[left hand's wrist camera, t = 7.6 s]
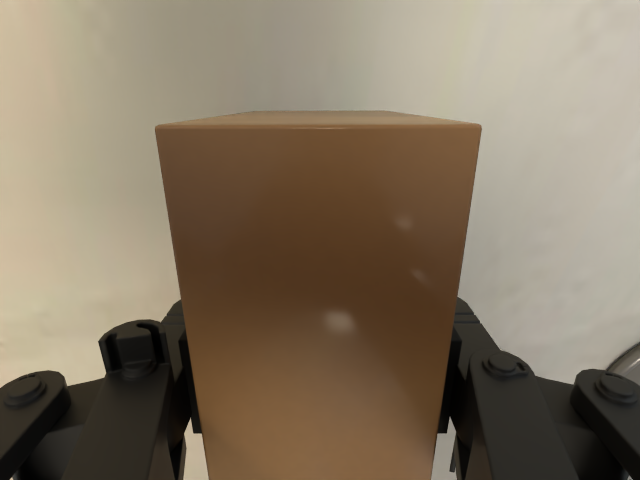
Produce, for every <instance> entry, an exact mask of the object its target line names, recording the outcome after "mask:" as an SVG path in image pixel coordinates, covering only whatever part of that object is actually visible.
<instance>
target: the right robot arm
mask: <svg viewBox="0 0 640 480" xmlns="http://www.w3.org/2000/svg"><path fill="white" fill-rule="evenodd" d="M608 371H609V372H612V373H616V374H619V375H621V376H623V377H625V378H627V379H629V380H631V381H633V382H635V383H637V384H638V385H639V386H640V345H638V346H637V347H635V348H633V349H632V350H631V351H629V352H628V353H627V354H625V355H624V356H623V357H622V358H620V359H619V360H618V361H617V362H616V363H615V364H614V365H613V366H612V367H611V368H610V369H609V370H608ZM629 480H630V479H629Z"/></svg>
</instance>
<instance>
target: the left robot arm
mask: <svg viewBox="0 0 640 480" xmlns="http://www.w3.org/2000/svg"><path fill="white" fill-rule="evenodd" d="M98 343H99V346H100V350H101V354H102V358H103V362H104V365H105V369H106V375H105V378H101V379H98V380H94V381H90V382H85V383H80V384H76V385H71V386H67V384H66V381H65V378H64V376H63V375H62V374H60V373H59V372H55V371H49V370H48V371H40V372H34V373H30V374H28V375H24V376H21V377H19V378H17V379H15V380H13V381H11V382H9V383H7V384H5V385H4V386H3V387H1V388H0V480H10V478H11V477H12V478H13V480H183V476H184V466H185V457H186V442H185V436H184V432H185V430H186V427H187V425H188V422H189V420H190V417H191V421H192V427H193V433H202V431H201V424H200V418H199V411H198V405H197V398H196V392H195V385H194V379H193V372H192V366H191V360H190V353H189V347H188V340H187V334H186V327H185V321H184V314H183V308H182V301H181V300H179V301H178V302H176V303H175V304H174V305H173V306H172V308H171V309H170V310H169V312H168V313H167V316H165V317H164V319H163V320H162V322H161V323H160V322H158V321H154V320H136V321H131V322H126V323H124V324H121V325H119V326H117V327H114V328H113V329H111V330H110V331H108V332H107V333H105V334H104V335H103V336H102V337H101V339H100V340H99V341H98ZM449 417H451V420H452V422H453V425H454V427H455V430H456V436H455V442H454V447H453V453H452V458H451V464H450V472H455V466H456V475H457V480H627V479H628V476H629V475H630V476H631V478H632V479H633V480H640V386H639V385H638V384H637V383H635V382H633V381H631V380H629V379H627V378H625V377H623V376H621V375H619V374H616V373H612V372H609V371H606V370H598V369H588V370H582V371H581V372H580V373H579V374H577V376H576V379H575V382H574V385H572V384H567V383H563V382H558V381H554V380H549V379H545V378H541V377H537V376H535V375H534V372H533V371H532V370H531V368H530V367H529V365H528V364H527V363H525V362H524V361H523V360H521V359H520V358H519V357H517V356H514V355H512V354H510V353H508V352H505V351H501V350H500V349H499V348H498V346H497V345H496V344H495V342H494V341H493V339H492V338H491V336H490V335H489V334H488V332H487V331H486V329H485V328H484V327H483V325H482V324H480V321H479V320H478V318H477V317H476V315H474V313H473V311H472V310H471V308H470V307H469V306H468V304H467V303H466V302H465V301H463V300H462V299H460V298H459V297H457V302H456V309H455V316H454V323H453V330H452V337H451V343H450V350H449V357H448V364H447V371H446V378H445V385H444V392H443V398H442V405H441V412H440V419H439V426H438V433H447V429H448V423H449Z"/></svg>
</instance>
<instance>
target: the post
mask: <svg viewBox="0 0 640 480" xmlns="http://www.w3.org/2000/svg"><path fill="white" fill-rule="evenodd" d="M481 130H482V128H481V125H479V124H475V123H468V122H461V121H454V120H447V119H440V118H433V117H426V116H419V115H412V114H404V113H397V112H390V111H253V112H246V113H239V114H232V115H225V116H218V117H211V118H204V119H196V120H189V121H182V122H175V123H168V124H161V125H157V126H156V127H155V133H156V139H157V146H158V152H159V159H160V165H161V172H162V178H163V185H164V191H165V198H166V204H167V211H168V217H169V223H170V230H171V236H172V243H173V249H174V256H175V262H176V269H177V275H178V282H179V288H180V295H181V301H182V308H183V314H184V321H185V327H186V334H187V340H188V347H189V353H190V360H191V366H192V372H193V379H194V385H195V392H196V398H197V405H198V411H199V418H200V424H201V431H202V437H203V444H204V450H205V457H206V463H207V470H208V476H209V480H431V474H432V467H433V460H434V454H435V447H436V440H437V433H438V426H439V419H440V412H441V405H442V398H443V392H444V385H445V378H446V371H447V364H448V357H449V350H450V343H451V337H452V330H453V323H454V316H455V309H456V302H457V295H458V288H459V281H460V275H461V268H462V261H463V254H464V247H465V240H466V233H467V226H468V220H469V213H470V206H471V199H472V192H473V185H474V178H475V171H476V164H477V158H478V151H479V144H480V137H481Z"/></svg>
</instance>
